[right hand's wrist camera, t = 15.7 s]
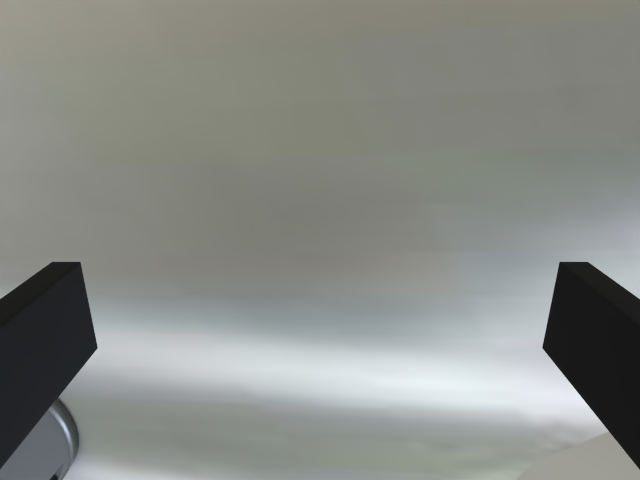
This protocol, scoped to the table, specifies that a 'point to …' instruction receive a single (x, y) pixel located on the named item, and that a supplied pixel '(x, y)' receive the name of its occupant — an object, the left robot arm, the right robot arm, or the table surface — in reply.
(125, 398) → the table surface
